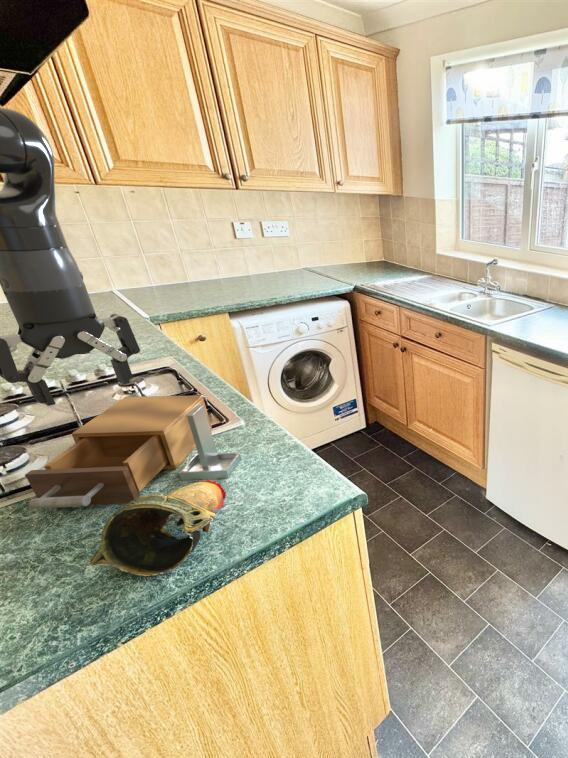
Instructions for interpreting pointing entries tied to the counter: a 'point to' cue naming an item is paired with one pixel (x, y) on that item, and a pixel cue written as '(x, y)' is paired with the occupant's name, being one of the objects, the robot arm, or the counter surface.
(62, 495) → the drawer
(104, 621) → the counter surface
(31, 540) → the counter surface
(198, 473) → the inverted t stand
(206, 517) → the pot
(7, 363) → the robot arm
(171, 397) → the cabinet
